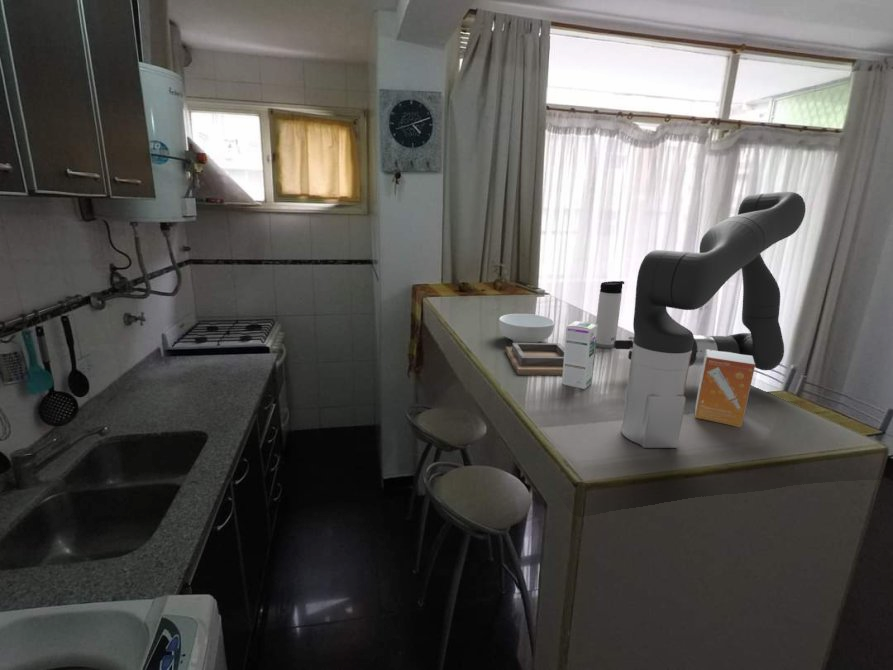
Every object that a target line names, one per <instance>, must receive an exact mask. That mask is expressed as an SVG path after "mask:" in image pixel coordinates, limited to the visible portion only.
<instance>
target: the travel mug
mask: <svg viewBox="0 0 893 670" xmlns="http://www.w3.org/2000/svg"><path fill="white" fill-rule="evenodd" d="M623 285H625V281H623V280H619V281H616V280H615V281H613V280H612V281H610V280H609V281H603V282H601V284H600V289H599V295H598V304H597V311H596V322H595V324H597V336H596V346H595V347H598V348H603V349H613V348H614V341H615V340H617V337H618V336H617V334H618V325H619V320H620V318H619V317H620V311H621V302H622V295H623Z"/></svg>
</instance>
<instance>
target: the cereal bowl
mask: <svg viewBox="0 0 893 670" xmlns="http://www.w3.org/2000/svg"><path fill="white" fill-rule="evenodd" d="M498 327H499V330H500V332H501V334H502V335H503V336H504V337H505V338H507V339H509V340H511V341H512V342H513V343H541V342H544V341H545V340H547V339H549V337H551V336H552V334H553V331H554V330H555V329H554V328H555V321H554V320H553V319H552V318H549V317H547V316H543V315H538V314H532V313H509V314H505V315H501V316H500V317H499V318H498Z"/></svg>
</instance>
